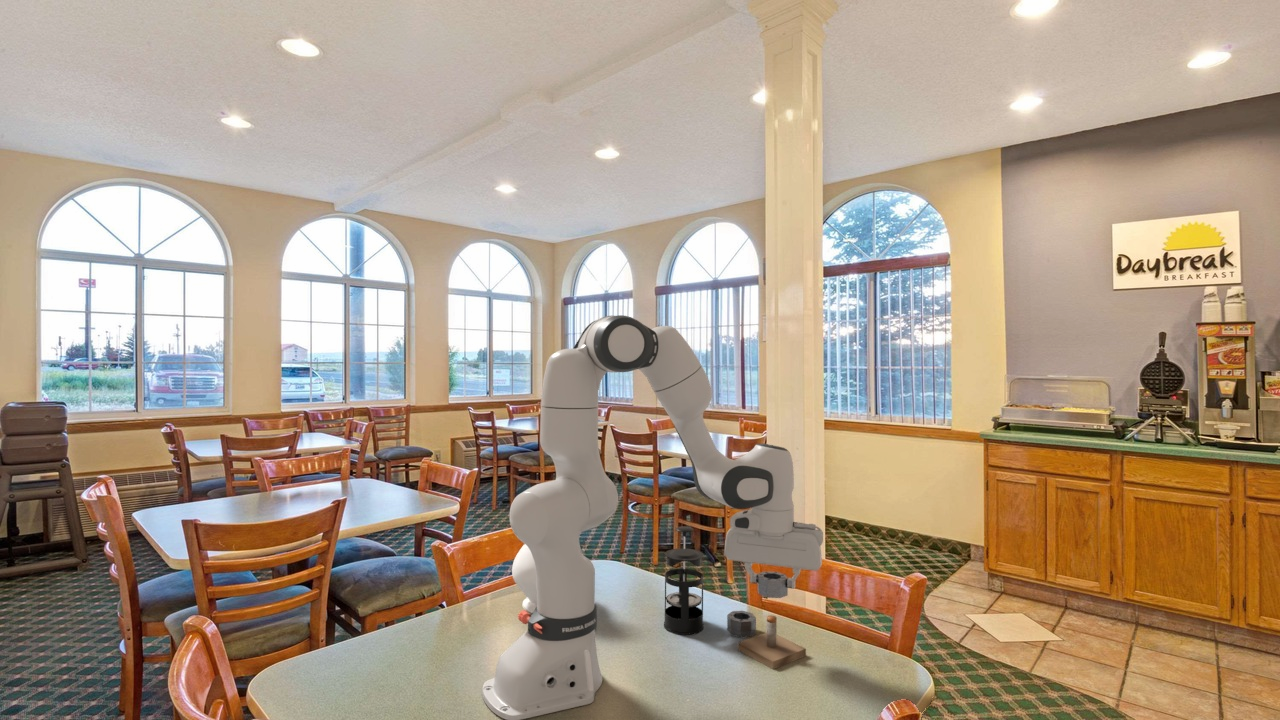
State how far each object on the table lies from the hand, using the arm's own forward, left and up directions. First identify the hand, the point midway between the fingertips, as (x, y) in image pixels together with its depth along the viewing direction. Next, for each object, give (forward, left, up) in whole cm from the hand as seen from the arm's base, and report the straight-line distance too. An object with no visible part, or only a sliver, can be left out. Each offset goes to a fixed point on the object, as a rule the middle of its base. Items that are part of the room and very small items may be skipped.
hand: (772, 585), depth 128 cm
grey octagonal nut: (0, 0, -2) cm, 2 cm away
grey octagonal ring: (+2, +11, -14) cm, 18 cm away
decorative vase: (-28, +50, -15) cm, 59 cm away
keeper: (0, 0, -14) cm, 14 cm away
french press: (-7, +21, -15) cm, 27 cm away
